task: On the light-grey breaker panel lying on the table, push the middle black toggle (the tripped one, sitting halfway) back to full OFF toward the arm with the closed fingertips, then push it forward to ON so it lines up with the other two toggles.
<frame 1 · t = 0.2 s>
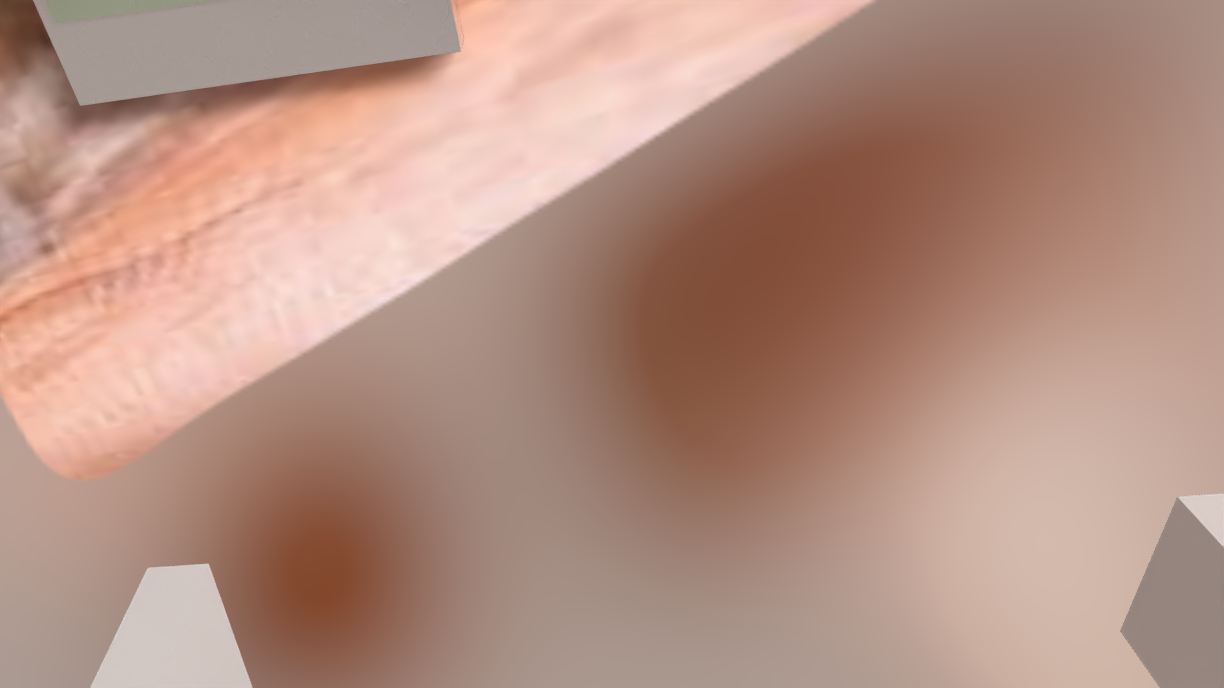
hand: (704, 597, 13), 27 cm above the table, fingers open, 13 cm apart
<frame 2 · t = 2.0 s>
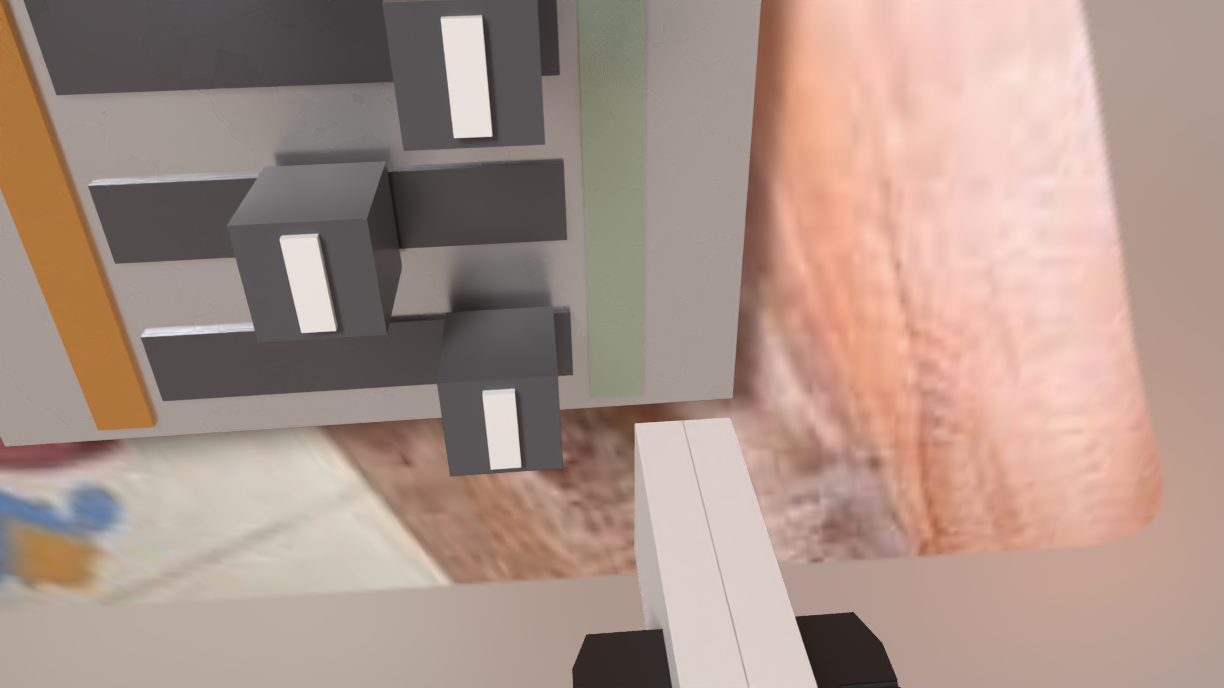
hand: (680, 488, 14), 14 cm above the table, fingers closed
breaker tripped: (323, 250, 22), point 4 cm above the table, slide at 4.0 cm
panel: (350, 182, 25), on the table
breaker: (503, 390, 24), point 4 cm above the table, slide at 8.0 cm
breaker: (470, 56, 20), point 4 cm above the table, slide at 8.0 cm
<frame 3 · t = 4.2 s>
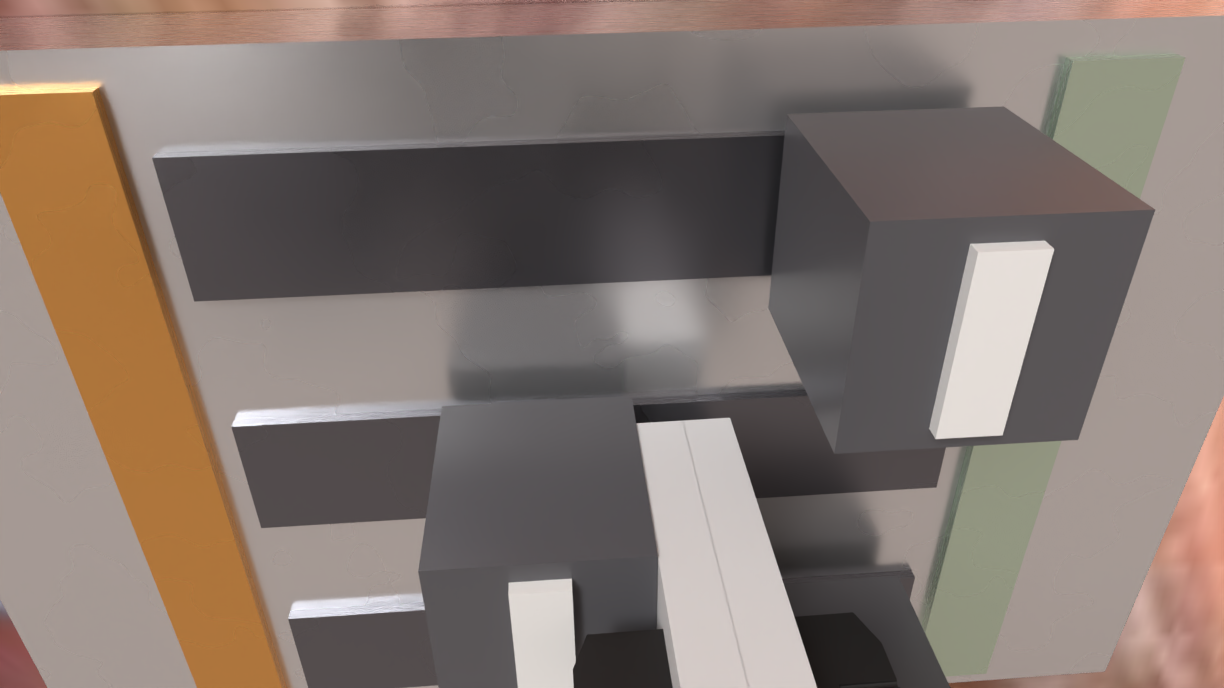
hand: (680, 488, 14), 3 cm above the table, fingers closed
breaker tripped: (543, 554, 13), point 4 cm above the table, slide at 2.9 cm, touching gripper
panel: (597, 385, 17), on the table
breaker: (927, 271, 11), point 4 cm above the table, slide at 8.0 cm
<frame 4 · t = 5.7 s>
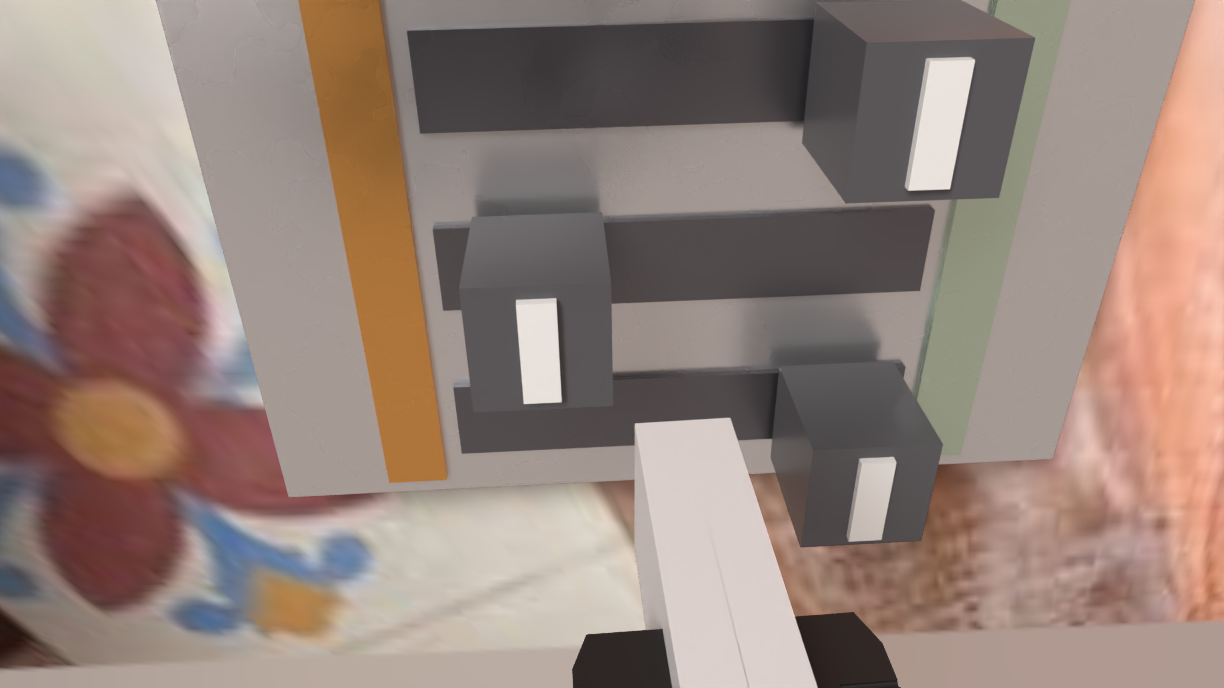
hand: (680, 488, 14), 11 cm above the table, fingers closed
breaker tripped: (540, 310, 20), point 4 cm above the table, slide at 0.5 cm
panel: (674, 224, 24), on the table
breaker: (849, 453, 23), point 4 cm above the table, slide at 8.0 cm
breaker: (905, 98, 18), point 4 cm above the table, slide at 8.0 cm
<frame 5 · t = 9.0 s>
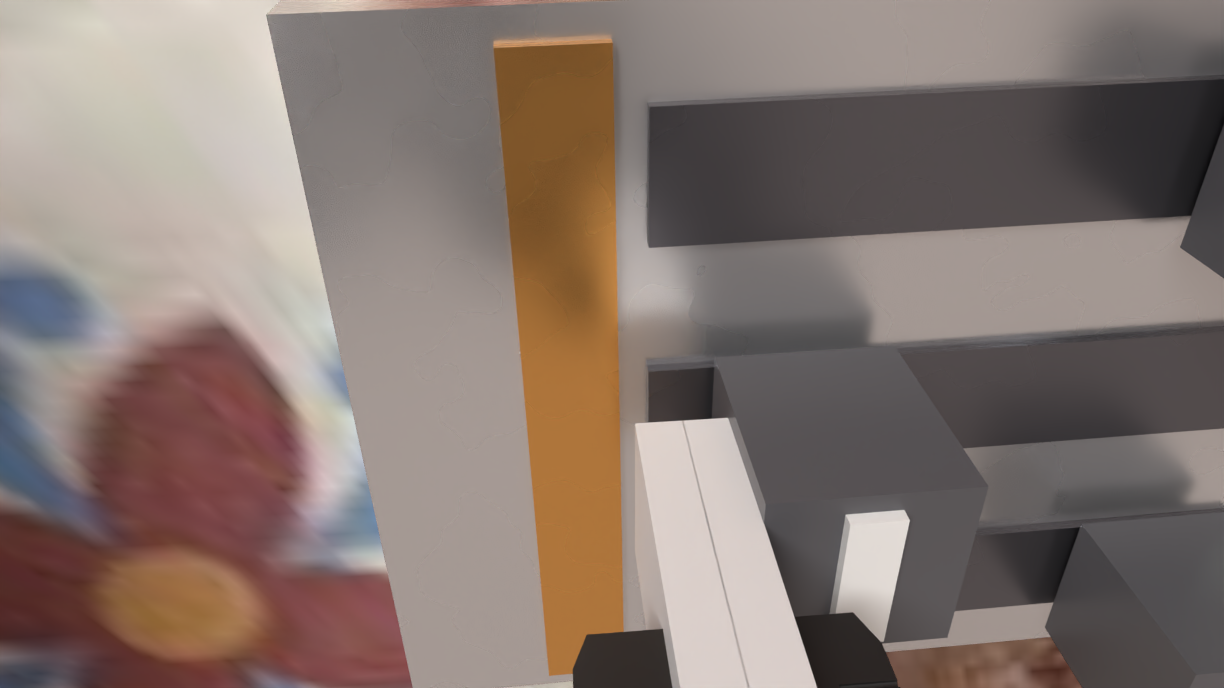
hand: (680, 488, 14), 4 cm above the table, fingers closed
breaker tripped: (828, 496, 14), point 4 cm above the table, slide at 0.6 cm, touching gripper
panel: (933, 335, 18), on the table
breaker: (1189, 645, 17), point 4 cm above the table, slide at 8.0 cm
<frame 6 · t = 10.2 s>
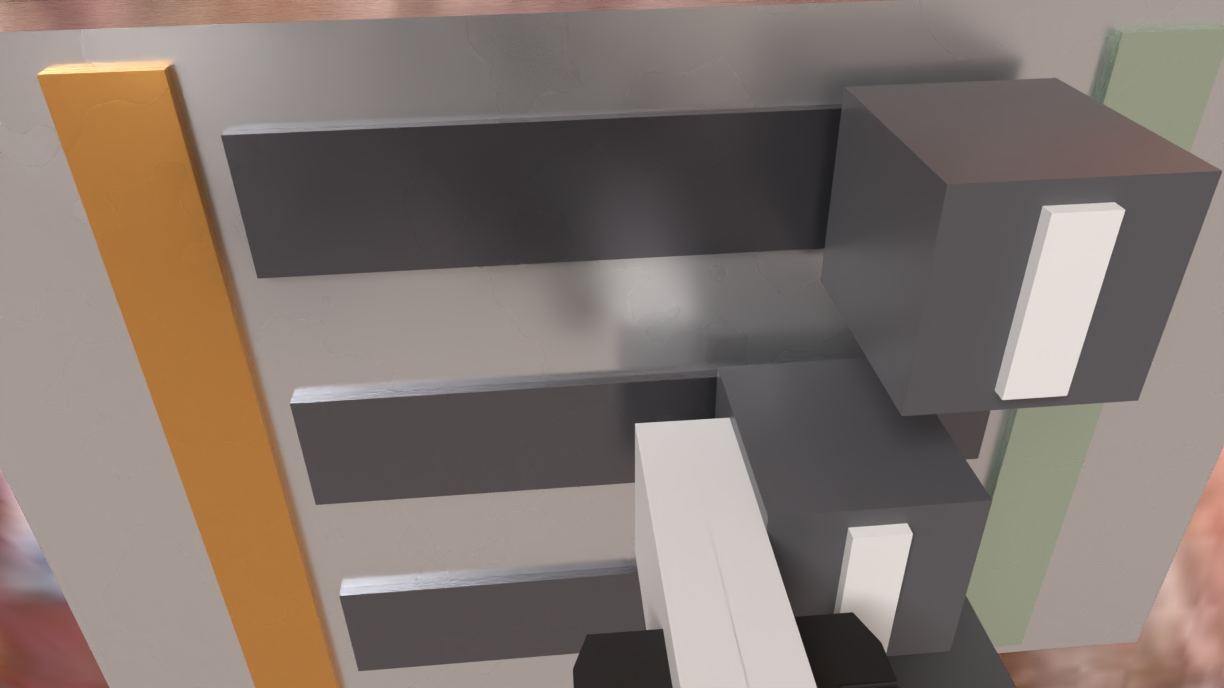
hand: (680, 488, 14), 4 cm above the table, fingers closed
breaker tripped: (831, 507, 14), point 4 cm above the table, slide at 6.5 cm, touching gripper
panel: (641, 363, 17), on the table
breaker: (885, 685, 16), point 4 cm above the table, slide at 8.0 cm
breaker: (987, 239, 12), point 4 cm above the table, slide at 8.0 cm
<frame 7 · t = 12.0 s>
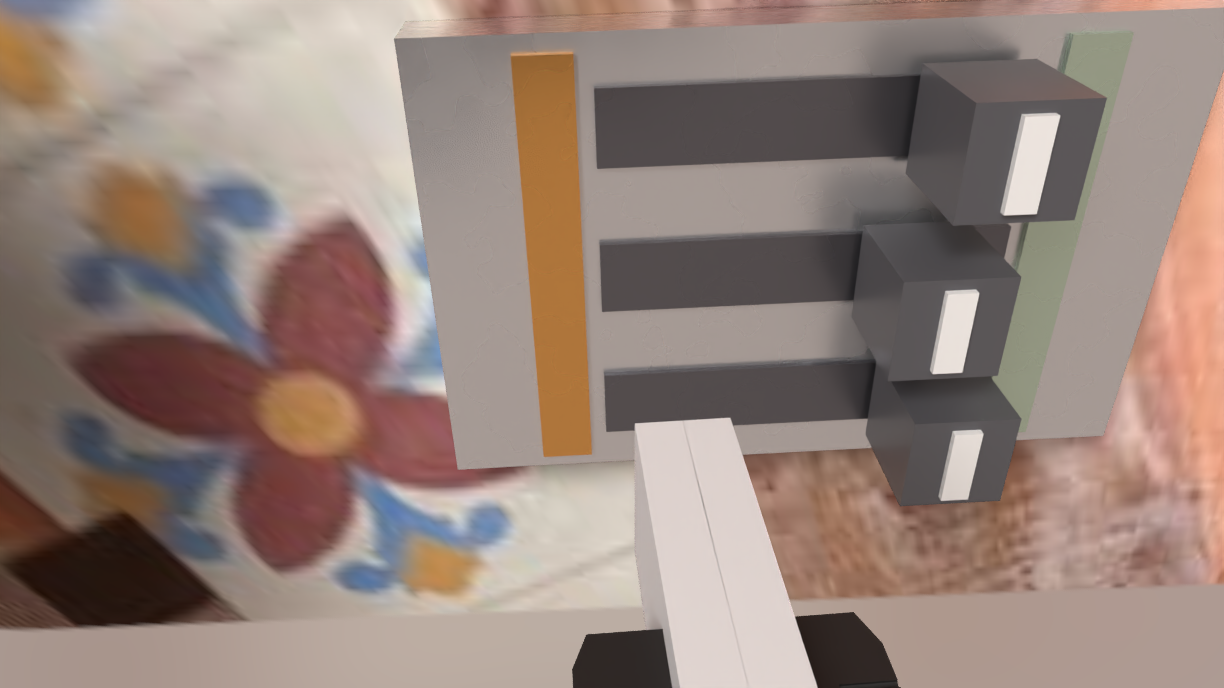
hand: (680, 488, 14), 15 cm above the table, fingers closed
breaker tripped: (930, 300, 25), point 4 cm above the table, slide at 7.0 cm
panel: (787, 238, 28), on the table
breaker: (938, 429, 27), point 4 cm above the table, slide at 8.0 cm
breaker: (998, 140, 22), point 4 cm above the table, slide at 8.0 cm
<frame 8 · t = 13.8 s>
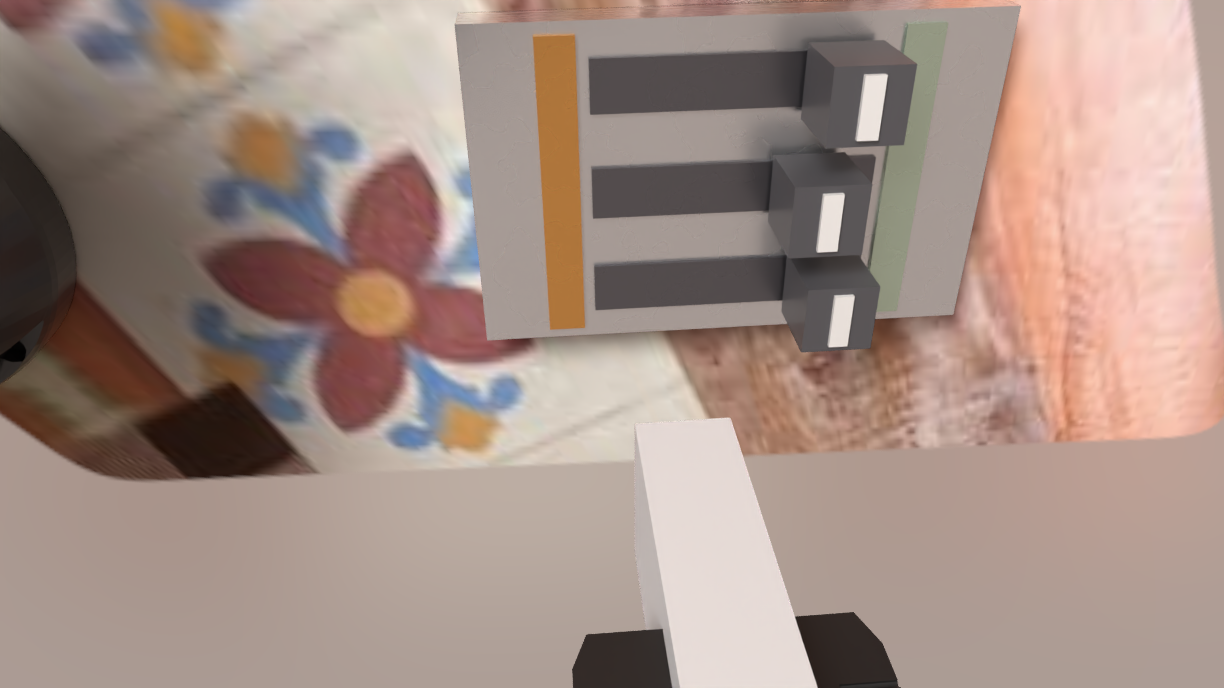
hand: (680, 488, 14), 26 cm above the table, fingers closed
breaker tripped: (817, 205, 36), point 4 cm above the table, slide at 7.0 cm
panel: (724, 169, 40), on the table
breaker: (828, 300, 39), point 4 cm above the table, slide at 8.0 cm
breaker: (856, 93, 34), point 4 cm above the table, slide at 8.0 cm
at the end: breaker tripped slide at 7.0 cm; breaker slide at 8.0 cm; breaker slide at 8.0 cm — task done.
